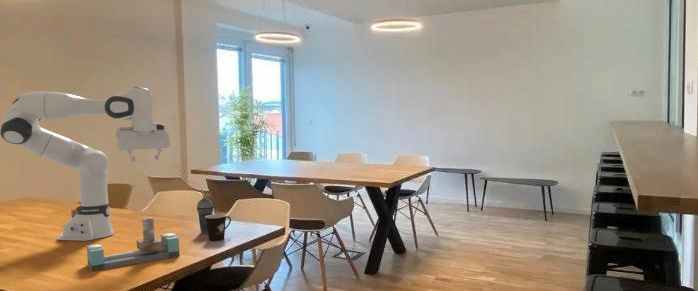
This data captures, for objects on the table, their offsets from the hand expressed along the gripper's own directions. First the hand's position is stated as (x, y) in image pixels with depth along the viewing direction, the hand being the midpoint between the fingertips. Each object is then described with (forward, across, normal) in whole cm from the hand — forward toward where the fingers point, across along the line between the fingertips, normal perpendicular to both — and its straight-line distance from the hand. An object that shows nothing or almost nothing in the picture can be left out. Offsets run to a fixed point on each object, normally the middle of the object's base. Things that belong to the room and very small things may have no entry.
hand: (144, 160), depth 210 cm
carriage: (+32, -5, -21) cm, 38 cm away
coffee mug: (+35, +27, -10) cm, 45 cm away
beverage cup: (+35, +26, +5) cm, 44 cm away
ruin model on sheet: (+36, -16, +68) cm, 78 cm away
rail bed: (+35, -10, -21) cm, 42 cm away
